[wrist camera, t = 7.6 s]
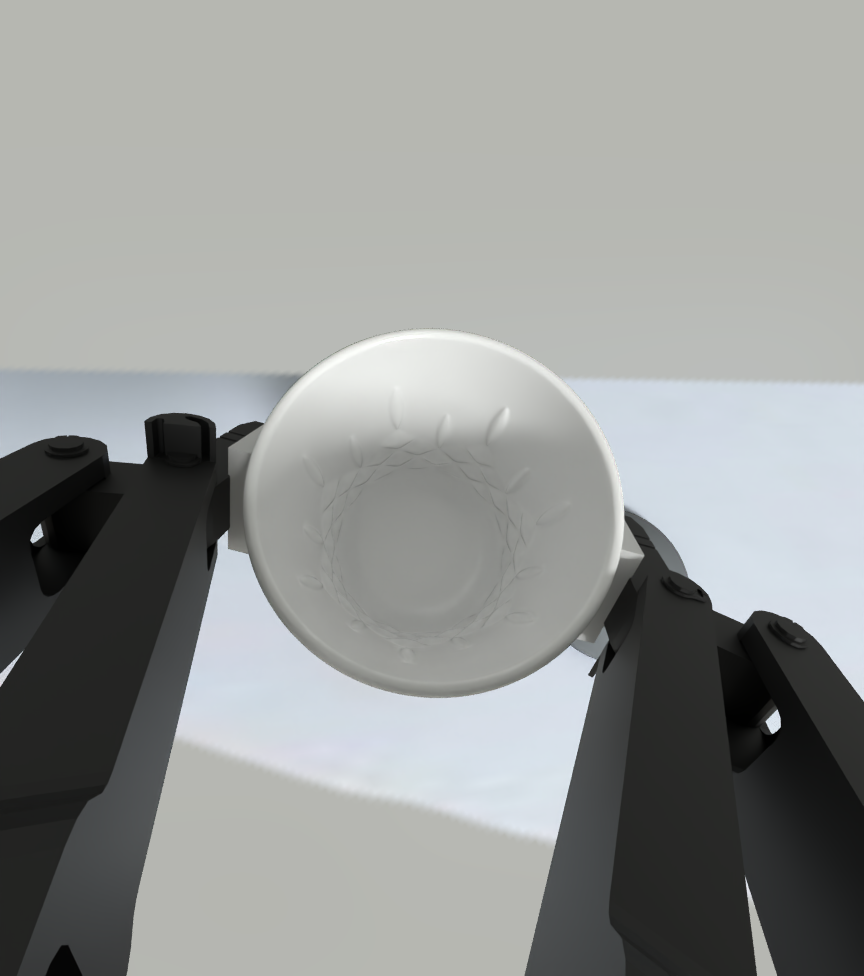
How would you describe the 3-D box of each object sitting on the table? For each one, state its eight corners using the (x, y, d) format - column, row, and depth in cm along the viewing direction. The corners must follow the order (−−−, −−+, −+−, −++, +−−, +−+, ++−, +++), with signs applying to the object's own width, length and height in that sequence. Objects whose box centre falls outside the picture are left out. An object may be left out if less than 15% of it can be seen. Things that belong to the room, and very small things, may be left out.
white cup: (294, 520, 18) (181, 413, 9) (450, 442, 20) (499, 281, 10) (378, 693, 17) (351, 794, 7) (542, 592, 18) (701, 563, 9)
